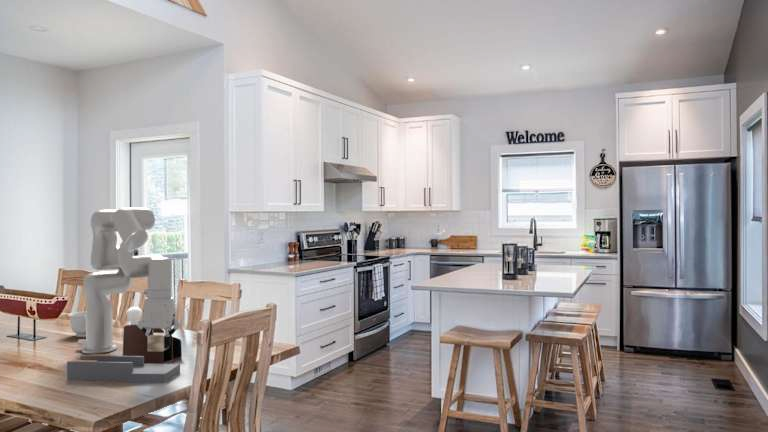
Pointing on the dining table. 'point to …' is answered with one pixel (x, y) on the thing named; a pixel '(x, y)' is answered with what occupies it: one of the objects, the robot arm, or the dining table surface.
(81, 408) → the dining table surface
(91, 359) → the grey stepped platform
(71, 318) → the teacup
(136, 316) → the light bulb
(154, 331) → the letter holder
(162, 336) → the birch block
